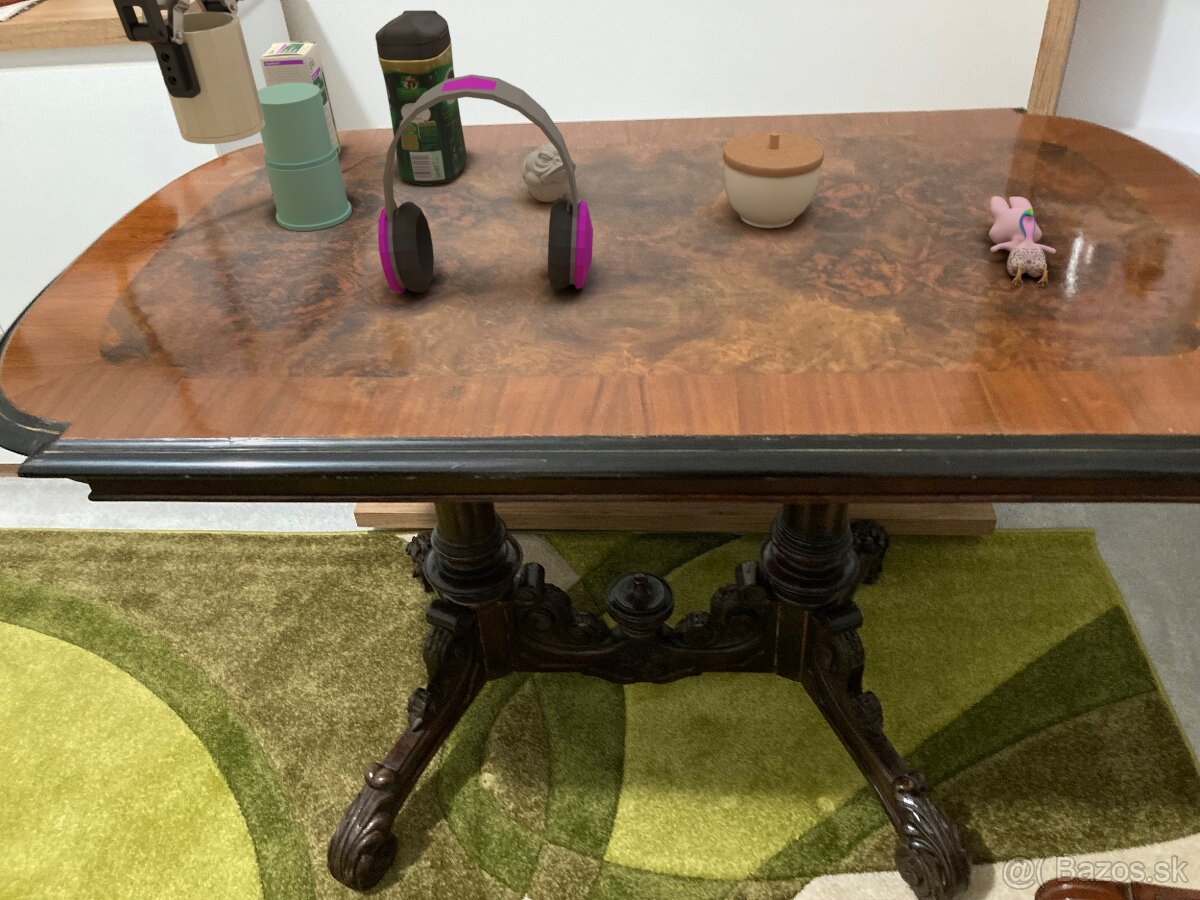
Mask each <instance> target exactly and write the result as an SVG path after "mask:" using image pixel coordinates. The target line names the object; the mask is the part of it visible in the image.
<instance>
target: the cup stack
mask: <svg viewBox="0 0 1200 900" xmlns="http://www.w3.org/2000/svg"><path fill="white" fill-rule="evenodd" d="M257 92H258V96H259V100H260V104H261V108H262V112H263V116H264V122H265V126H264V128H263V129H262V130H261V131H260V132H259V133H260V137H261V141H262V144H263V145H262V146H263V150H264V154H263V160H264V161H263V164H264V167H265V171H266V174H267V178H268V182H269V186H270V189H271V192H272V198H273V200H274V205H275V208H276V209H275V210H276V214H275V219H276V222H277V224H278V225H279V226H280V227H281V228H283V229H286V230H289V231H295V232H313V231H321V230H325V229H329V228H332V227H334V226H337V225H340V224H341V223H343V222H345V221H346V220H347V219H349V218H350V217H351V215H352V213H353V209H352V208H353V207H352V204H351V202H350V201H349V200H348V196H347V192H346V186H345V183H344V178H343V174H342V173H343V172H342V168H341V163H340V159H339V154H337V151H336V149H335V146H334V144H332V143H331V139H330V134H329V129H328V125H327V120H326V115H325V111H324V106H323V101H322V97H321V92H320V88H319V87H318V86H316V85H314V84H309V83H283V84H277V85H272V86H268V87H267V86H265V87H262V88H260V89H257Z"/></svg>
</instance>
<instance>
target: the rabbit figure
mask: <svg viewBox="0 0 1200 900" xmlns="http://www.w3.org/2000/svg"><path fill="white" fill-rule="evenodd" d="M989 209H990V210H989V211H990V213H991V216H992V218H993V219H994V223H993V224H992V227H991V228H990V230H989V232H988V236H989V239H991V241H992V242H993V243H994V244H995V245H993V246H992V247H990V252H991V253H997V251H998V250H1005V251H1009V255H1008V257H1007V262H1006V269H1007V273H1008V274H1009V275H1010V276H1012V277H1014V278H1013V280H1012V281H1011V282H1012V284H1013V283H1014V286H1015V287H1016V286H1017V283H1018V282H1021V283H1022V284H1023V282H1024V281H1023V280H1022V275H1024V274H1027V275H1029V276H1030V277H1032V278H1039V277H1041V276H1042V277H1041V279H1039V281H1037V284H1039V283H1041V285H1042V287H1044V283H1046V284H1047V285H1048V284H1049V283H1048V281H1049V280H1048V273H1049V271H1048V270H1047V269H1048V268H1047V267H1048V264H1047V260H1046V254H1045V252H1046V253H1048V254H1051V255H1055V254H1056V253H1057V250H1056V249H1055V248H1053V247H1051V246H1047V245H1045V244H1040V243H1037V242H1039V241H1040V240H1041V238H1042V236H1043V233H1042V231H1041V228H1040V227H1039V226H1038V224H1037V222H1036V217H1035V216H1036V215H1035V211H1034V209H1033V206H1032V204H1031V202H1030V201H1029V200H1028V199H1027V198H1025V197H1023V196H1010V197H1009V204H1008V203H1007V201H1006V200H1005V198H1003V197H1001V196H998V195H994V196H992V197H991V198H990V203H989Z"/></svg>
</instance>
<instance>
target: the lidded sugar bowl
mask: <svg viewBox="0 0 1200 900" xmlns="http://www.w3.org/2000/svg"><path fill="white" fill-rule="evenodd" d="M722 149H723V150H722V159H723V168H722V169H723V170H722V172H723V173H722V175H723V185H724V186H723V187H724V191H725V195H726V198H727V201H728V202H729V204H730V206H731V207H732V209H733V210H734V212H736V213H737V214H738V215H739V217H740V219H741V221H743V223H745V224H747V225H750V226H752V227H757V228H761V229H778V228H783V227H787V226H789V225H791V224H792V223H793V222H794V221H795V220H796V218H798V217H799V216H800V215H802V214H803V212H805V211H806V209H808V207H809V205H811V203H812V201H813V199H814V198H815V195H816V193H817V190H818V186H819V182H820V178H821V173H822V166H823V162H824V158H825V150H824V148H823V146H822V145H821V144H820V143H819V142H817V141H816V140H814V139H813V138H810V137H807V136H805V135H800V134H796V133H795V134H794V133H791V132H782V131H781V132H780V131H760V132H752V133H751V132H750V133H745V134H742V135H739V136H736V137H734V138H732V139H730V140H728V142H726V143H725V144H724V147H723V148H722Z"/></svg>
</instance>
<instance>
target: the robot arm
mask: <svg viewBox="0 0 1200 900" xmlns="http://www.w3.org/2000/svg"><path fill="white" fill-rule="evenodd" d="M239 1H243V2H244V1H245V0H195V2H196V3H197V5H198V7H199V9H200V10H201V12H208V11H216V12H228V13H232V14H235V15H237V14H238V12H239V8H238V3H239ZM112 2H113V4H114V7H115V10H116V12H117V15H118V18H119V20H120V23H121V26H122V28H123V30H124V33H125V36H126V38H127V40H128V41H130V42H136V43H137V42H138V43H139V42H141V43H147V44H149V45H151V47H152V48H153V50H154V51H153V52H154V54H156V55H155V58H156V57H157V58H156V60H158V61H157V64H158V63H159V64H158V67H159V66H160V67H159V70H161V71H162V72H161V71H160V74H161V73H162V74H161V77H162V76H163V77H162V80H163V79H164V80H163V83H164V82H165V83H164V86H165V85H166V87H167V89H168V91H169V93H170V94H171V95H172V96H173V97H175V98H194V97H195V96H197V95H199V94H200V91H201V90H200V86H199V83H198V79H197V76H196V72H195V69H194V65H193V62H192V58H191V55H190V52H189V48H188V45H187V43H183V41H184V14H185V13H186V12H187V11H188V10H189V9H190V6H191V0H112ZM135 7H138V8H140V9H141V22H140V21H139V20H138V19H139V18H138V16H137V13H136V11H135ZM161 11H166V13H167V16H166V17H167V18H168V25H165V23H164V20H163V18H164V16H163V14H162V12H161ZM166 87H165V88H166Z"/></svg>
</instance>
